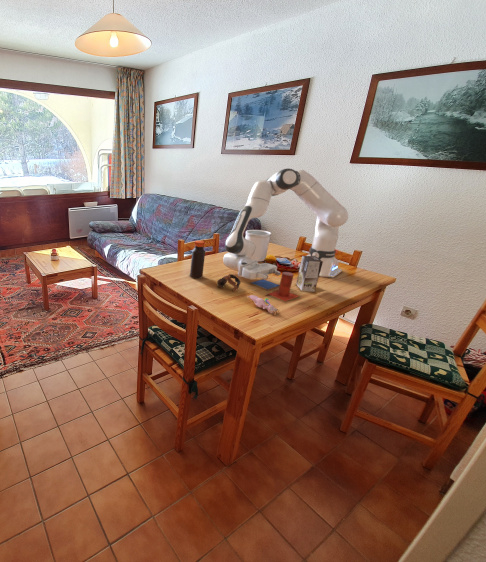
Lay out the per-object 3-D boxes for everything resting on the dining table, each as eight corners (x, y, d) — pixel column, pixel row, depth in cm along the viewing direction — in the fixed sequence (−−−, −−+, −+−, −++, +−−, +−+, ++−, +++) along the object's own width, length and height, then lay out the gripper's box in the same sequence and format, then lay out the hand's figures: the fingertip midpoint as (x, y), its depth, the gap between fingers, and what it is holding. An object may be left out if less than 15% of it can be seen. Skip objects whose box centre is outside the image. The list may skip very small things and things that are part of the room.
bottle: (199, 279, 168) (203, 244, 160) (187, 276, 172) (191, 242, 164) (204, 276, 173) (208, 241, 165) (193, 273, 177) (196, 239, 169)
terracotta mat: (281, 290, 155) (281, 289, 155) (299, 296, 148) (299, 295, 148) (267, 294, 150) (267, 293, 150) (284, 302, 143) (285, 301, 143)
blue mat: (262, 279, 168) (263, 279, 168) (279, 286, 160) (279, 285, 160) (250, 283, 163) (250, 282, 163) (267, 290, 155) (267, 289, 155)
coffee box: (315, 292, 153) (323, 261, 147) (301, 291, 154) (308, 260, 148) (308, 285, 161) (316, 255, 155) (295, 284, 162) (302, 255, 156)
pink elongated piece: (279, 315, 134) (251, 297, 145) (284, 304, 131) (255, 286, 142) (271, 319, 131) (242, 300, 142) (275, 307, 128) (246, 289, 139)
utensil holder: (238, 254, 209) (242, 229, 202) (260, 255, 208) (265, 229, 202) (246, 261, 195) (250, 234, 188) (269, 262, 195) (275, 235, 188)
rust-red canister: (281, 292, 152) (286, 271, 148) (290, 295, 148) (295, 274, 144) (275, 294, 150) (280, 273, 146) (284, 297, 146) (289, 276, 142)
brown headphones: (225, 283, 164) (235, 272, 159) (234, 296, 159) (245, 286, 154) (209, 282, 158) (219, 270, 153) (219, 296, 152) (229, 285, 147)
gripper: (261, 269, 169) (285, 277, 158) (235, 276, 159) (258, 285, 148) (263, 258, 166) (287, 266, 155) (237, 265, 157) (261, 273, 146)
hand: (273, 275), depth 152 cm, fingers open, 8 cm apart
